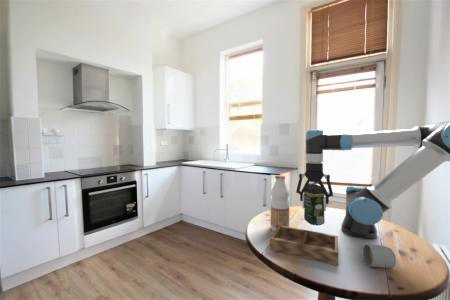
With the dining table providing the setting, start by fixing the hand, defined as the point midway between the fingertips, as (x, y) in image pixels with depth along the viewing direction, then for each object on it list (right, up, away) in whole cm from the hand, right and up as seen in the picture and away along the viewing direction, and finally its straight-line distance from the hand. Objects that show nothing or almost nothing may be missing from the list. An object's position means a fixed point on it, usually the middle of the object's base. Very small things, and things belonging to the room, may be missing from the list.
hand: (314, 208), depth 104 cm
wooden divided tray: (-9, -14, -12) cm, 20 cm away
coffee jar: (0, -7, 0) cm, 7 cm away
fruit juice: (-14, -13, +8) cm, 21 cm away
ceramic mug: (+14, -15, -23) cm, 30 cm away
